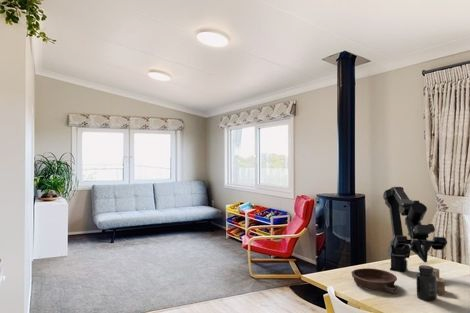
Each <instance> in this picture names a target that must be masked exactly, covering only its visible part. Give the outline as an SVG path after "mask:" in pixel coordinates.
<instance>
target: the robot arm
mask: <svg viewBox="0 0 470 313" xmlns="http://www.w3.org/2000/svg"><path fill="white" fill-rule="evenodd" d="M382 197H383V200H384V204H385V205H386V206H387V208H388V209H389V215H390V216H389V217H390V224H391V231H392V238H391V239H390V242H389V246H388V249H387V254H388V257H390V268H389V270H391V271H395V272H396V271H397V272H400V273H406V271H407V270H408V260H407V259H410V255H411V251H412V252H413V253H415V254H416V255H417V256H418V257H419V259H420V260H421V261H423V263H428V254H429V251H430V249H433V250H435V251H443V250H444V249H445V248H446V246H447V244H448V240H447V238H446V237H444V236H434V237H433V239H428V238H429V235H430V234H432V233H435V231H436V228H435V226H434V224H433V223H428V224H422V222H421V221H423V220H424V218H425V215H426V213H427V211H428V207H427V206H426V205H425V204H424V203H422V202H420V200H412V199H410V198H409V197H408V195H407V193H406V192H405V190H404V187H403V186H392V187H391V188H389V189H387V190H384V192H383V195H382ZM401 216H403V217H405V218H404V224H405V225H406V228H407V232H408V233H407V235H408V236H409V238H410V239H408V236H407V235H404V233H403V226H402V219H401V218H402V217H401Z"/></svg>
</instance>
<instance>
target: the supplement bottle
mask: <svg viewBox="0 0 470 313" xmlns="http://www.w3.org/2000/svg"><path fill="white" fill-rule="evenodd" d="M433 268H434V267H433V266H431V265H426V264H421V265H419V266H418V271H419V272H417V273H416V275H415V276H416V277H415V278H416V296H417V298H418V299H420V300H422V301H426V302H433V301H434V302H435V301H437V299H438V294H437V282H436V276H435V275H434V274H433Z"/></svg>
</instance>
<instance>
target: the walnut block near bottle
mask: <svg viewBox="0 0 470 313" xmlns="http://www.w3.org/2000/svg"><path fill="white" fill-rule="evenodd" d="M436 282H437V295H446V294H445V293H446V281H445V280H444V278H443V277H439V278H437V277H436Z"/></svg>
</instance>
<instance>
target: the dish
mask: <svg viewBox="0 0 470 313" xmlns="http://www.w3.org/2000/svg"><path fill="white" fill-rule="evenodd" d="M351 276H352V278H353V280H354V283H355V284H356V285H357V286H359V287H360V288H362V289H366V290H369V291H373V292H389V293H396V292H397V291H398V287H397V286H396V284H395V283H396V282H397V280H398V278H397V276H396V275H395V274H393V273H392V272H389V271H386V270H383V269H378V268H372V267H371V268H370V267H367V268H357V269H354V270H352V271H351Z"/></svg>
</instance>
